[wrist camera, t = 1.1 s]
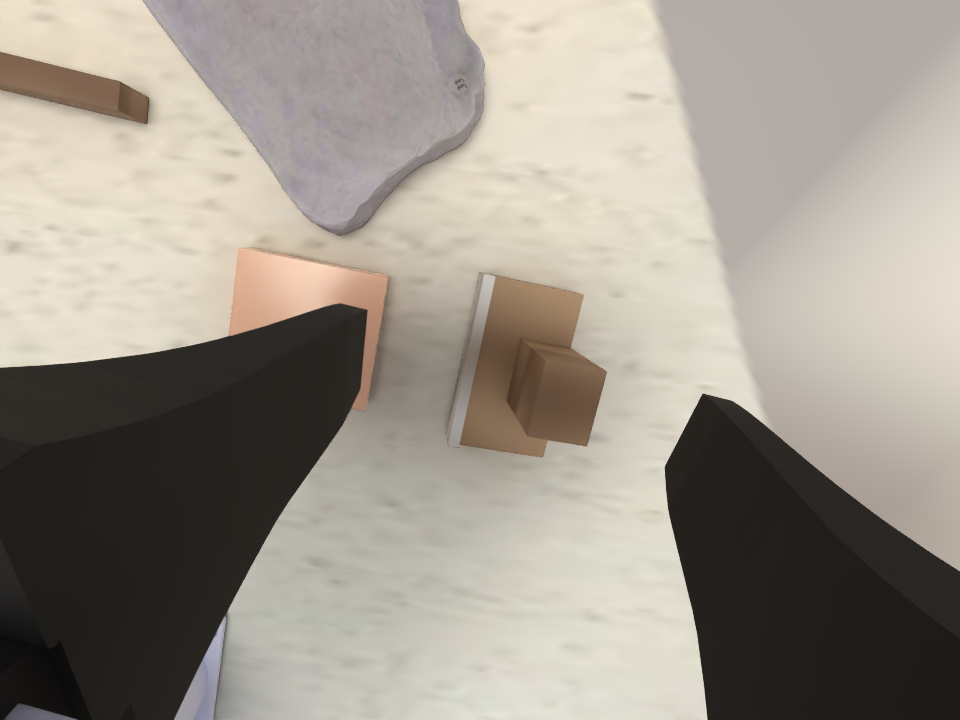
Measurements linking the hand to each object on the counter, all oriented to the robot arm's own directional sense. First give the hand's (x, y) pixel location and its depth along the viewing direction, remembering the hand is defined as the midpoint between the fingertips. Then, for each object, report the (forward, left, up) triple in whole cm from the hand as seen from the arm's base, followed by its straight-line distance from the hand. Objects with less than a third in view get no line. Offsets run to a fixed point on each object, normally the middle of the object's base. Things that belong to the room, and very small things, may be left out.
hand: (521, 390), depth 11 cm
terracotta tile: (-2, +7, -14) cm, 15 cm away
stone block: (+9, +7, -14) cm, 18 cm away
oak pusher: (-2, -3, -13) cm, 14 cm away
